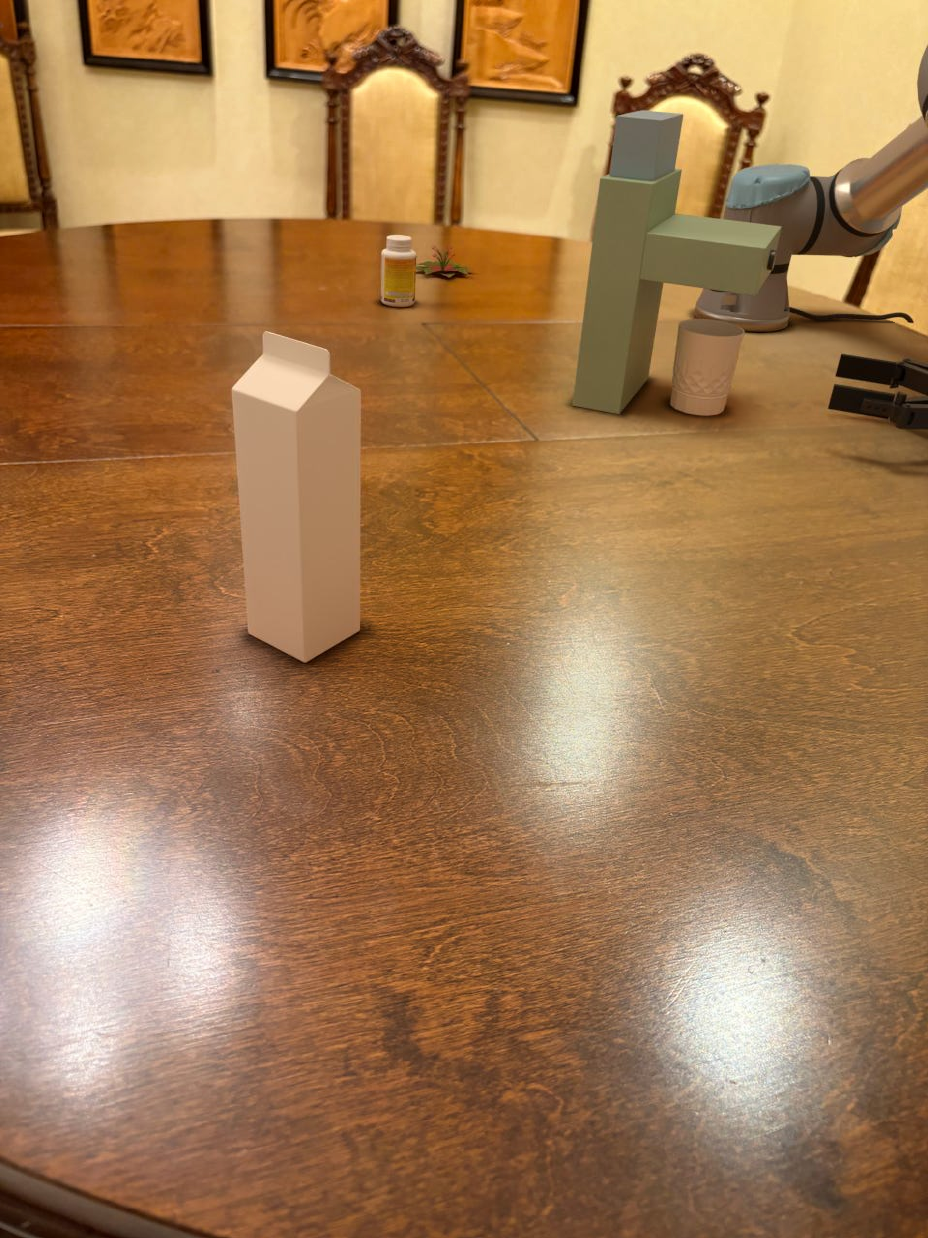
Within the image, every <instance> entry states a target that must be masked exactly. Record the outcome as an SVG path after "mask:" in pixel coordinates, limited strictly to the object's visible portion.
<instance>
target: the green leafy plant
mask: <svg viewBox="0 0 928 1238" xmlns="http://www.w3.org/2000/svg"><path fill="white" fill-rule="evenodd" d="M431 249H432V250H433V251H435V252H436V253H437V254H436V253H434V254H432V257H433V258H436V259H437V261H436V260H435V261H429V260H427V261H423V262H420V263H417V265H418V266H417V265H416V271H424V276H426V275H428V274H429V275H430V274H432V273H436V274H438V275H443V276H445V277H447V278H451V277H452V276H454V275H456V273H461V274H463V275H466V276H470V274H469V273H468V271H473V270H476V269H475V268H472V267H468V266H460V265H461V264H460V263H458V264H457V263H454V262H450V261H451V259H453V258H454V257H455V256H456V254H455V253H454V254H452V255H451V256H450V257H449V255H450V254H451V252H450V251H451V250H452V249H453V247H450V248H449V246H447V247H446V249H445V250H444V253H443V254H442V253H441V251H440V250H439V249H438V248H437V246H435V245H433V246H431ZM448 257H449V259H448Z"/></svg>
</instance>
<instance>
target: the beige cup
mask: <svg viewBox="0 0 928 1238" xmlns="http://www.w3.org/2000/svg"><path fill="white" fill-rule="evenodd" d="M745 332H746V331H744V329H742V328H741V327H739V326H737V325H734V324H731V323H728V322H723V321H718V320H710V319H698V318H689V319H684V320H682V321H680V322H679V323H678V327H677V335H676V343H675V350H674V359H673V367H672V378H671V384H672V386H671V394H670V401H669V403H670V404H669V406H671V407H672V408H673V409H675V410H676V411H679V412H680V413H681V412H682V413H684V414H689V415H693V416H701V417H704V416H706V417H709V416H717V415H720V414H721V413H723V412H724V410H725V407H726V403H727V398H728V394H729V391H730V389H731V387H732V382H733V379H734V376H735V371H736V369H737V365H738V361H739V356H740V352H741V349H742V345H743V341H744V337H745Z"/></svg>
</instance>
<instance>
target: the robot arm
mask: <svg viewBox="0 0 928 1238" xmlns="http://www.w3.org/2000/svg"><path fill="white" fill-rule="evenodd" d="M916 87H917V100H918V105H919V109H920V112H921V116H920V117H918V118H917V119H916V120H915V121H913V122H912V123H911V124H910V125H909V126H907V127H906V128H905V129H904V130H903V131H902V132H899V134H898V135H897V136H895V137H894V138H893V139H892V140H890V141H889V142H888V143H887V144H886V145H884V146H883V147H882V148H881V149H879V150H878V151H877V152H876V153H874V154H873V155H872V156H871V157H861V158H860V157H859V158H856V159H854V160H851V161H849V162H848V163H847V164H846V165H845V166H843V167H841V169H839V170H838V171H837V172H835V174H833V175H830V176H820V175H819V176H818V175H814V176H813V175H811V170H810V169H809V168H808V167H807V166H803V165H799V164H778V163H777V164H775V163H773V164H761V165H754V166H749V167H745V168H742V169H740V170H738V171H737V172H736V173H735V174H734V175H733V176H732V178H731V180H730V183H729V187H728V190H727V195H726V198H725V200H724V212H723V216H722V219H725V220H733V221H741V222H749V223H757V224H765V225H773V226H781V227H782V228H781V233H780V238H779V242H778V247H777V255H776V260H775V264H774V267H773V270H772V271H771V272H770V274H769V275H768V277H767V279H766V280H765V282H764V283H763V285H762V286H761V288H760V289H759V291H758V292H757V294H756V296H752V295H745V294H738V293H731V292H715V291H711V290H709V289H704V288H702V290H701V292H700V294H699V296H698V298H697V300H696V302H695V307H694V312H693V314H694V316H695V318H696V319H710V320H718V321H723V322H728V323H731V324H734V325H737V326H739V327H741V328H742V329H744V331H745V332H774V331H780V330H783V329H785V328H787V327H788V324H789V321H790V316H791V314H793V315H797V316H801V317H803V318H806V319H809V320H812V321H813V320H814V321H829V320H839V319H840V320H841V319H846V320H847V319H848V320H849V319H850V320H863V321H865V320H866V321H884V320H889V319H895V318H902V319H903V320H905V321H906V322H907V323H909V324H915V321H914V320H913V318H912V317H911V315H909V314H907V313H905V312H900V311H898V312H897V311H896V312H890V313H886V314H885V313H884V314H860V313H832V314H821V315H820V314H814V313H810V312H807V311H804V310H801V309H798V308H795V307H792V306H790V299H789V298H790V297H789V288H788V273H789V268H790V263H791V260H792V259H791V258H792V256H827V257H828V256H830V257H831V256H832V257H844V258H857V257H862V256H863V257H865V256H870V255H873V254H874V253H877V252H878V251H880V250H881V249H882V248H884V247H885V246H886V245H887V244H888V243H889V242H890V240H891V239H892V238H893V236H894V232H893V230H894V231H895V230H897V229H898V227H899V224H900V221H901V217H902V211H903V207H904V206H905V205H906V204H907V203H909V202H911V201H912V200H913V199H915V198H917V196H919V195H921V194H922V193H923V192H924V191H926V190H927V189H928V44H927V45H926V46H925V50H924V52H923V54H922V57H921V59H920V63H919V67H918V73H917V80H916ZM835 378H841V379H846V380H847V379H848V380H853V381H854V380H855V381H860V382H866V383H872V384H878V385H885V386H889V389H891V390H892V389H898V388H899V386H900V387H903V388H905V389H908V390H911V391H913V392H916V393H919V394H921V395H922V396H920V395H919V396H908V394H906V393H905V392H902V391H900V390H898V391H897V393H893V392H886V391H880V390H874V389H870V388H869V389H868V388H862V387H857V386H850V385H844V384H837V383H834V384H833V387H832V391H831V395H830V399H829V403H828V407H827V409H828V410H832V411H838V412H844V413H850V414H855V415H860V416H867V417H872V418H878V419H884V420H889V421H890V422H892V423H894V424H895V426H894V427H895V428H897V429H899V430H926V431H928V363H925V362H922V361H918V360H914V359H911V358H909V357H907V358H903V359H902V360H901V361H892V360H885V359H880V358H872V357H866V356H860V355H855V354H854V355H853V354H846V353H841V354H840V356H839V360H838V365H837V368H836V371H835Z"/></svg>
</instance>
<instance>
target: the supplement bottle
mask: <svg viewBox="0 0 928 1238" xmlns="http://www.w3.org/2000/svg"><path fill="white" fill-rule="evenodd" d="M412 242H413V241H412V236H408V235H403V234H391V235H387V236H386V243H385V244H386V246H385V248H383V249H382V250H381V253H380V301H381V303H382V304H383V305H385V306H387V307H394V308H407V307H411V306H413V305H414V304H415V301H416V278H417V276H416V275H417V272H416V271H417V270H416V266H417V252H416V251H415V250H414V249H413V248H412V246H413V243H412Z"/></svg>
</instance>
